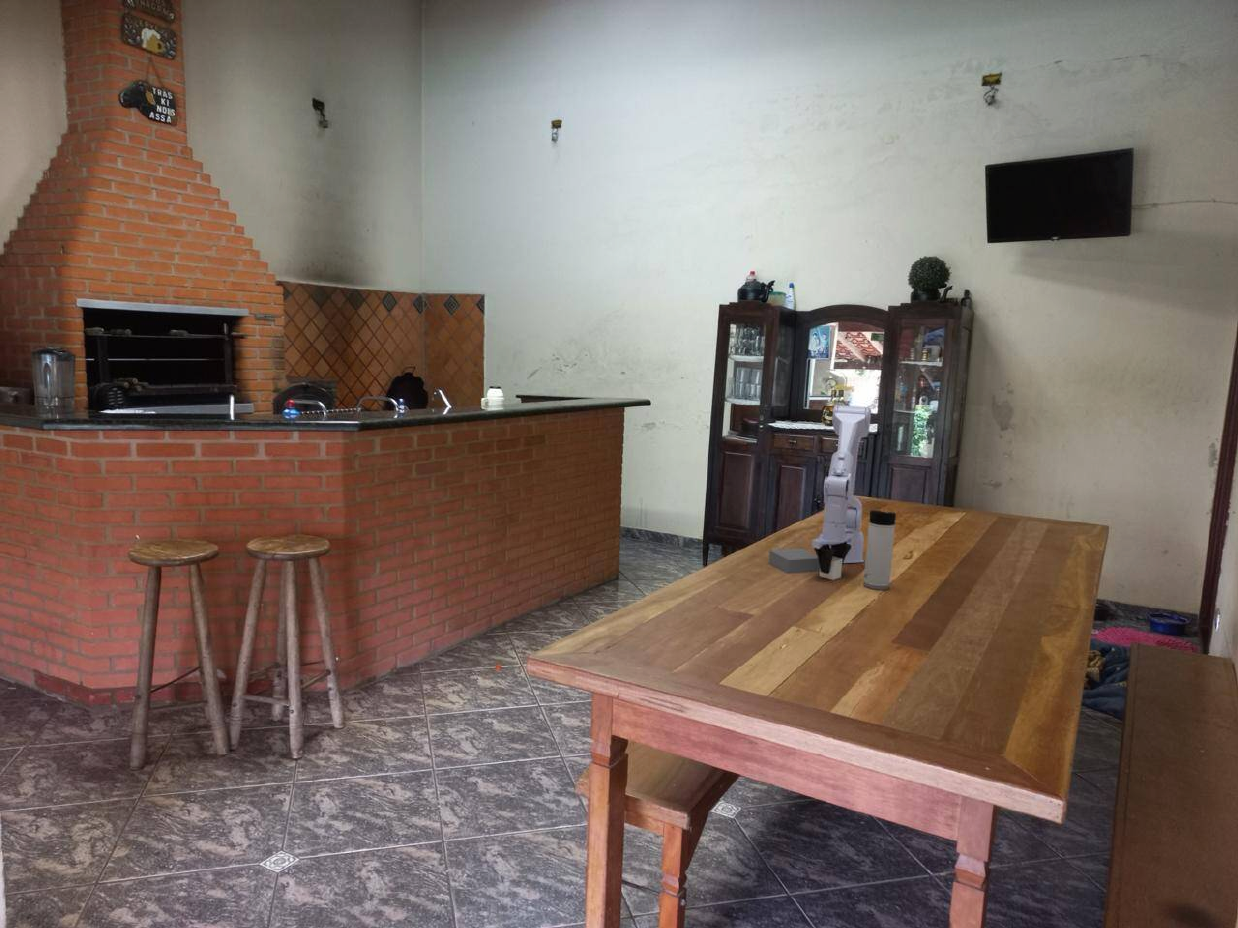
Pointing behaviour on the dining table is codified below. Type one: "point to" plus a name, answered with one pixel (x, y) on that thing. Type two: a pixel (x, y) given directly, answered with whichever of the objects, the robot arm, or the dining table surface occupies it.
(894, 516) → the travel mug
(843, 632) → the dining table surface
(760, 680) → the dining table surface
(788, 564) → the base block
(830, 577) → the top block
